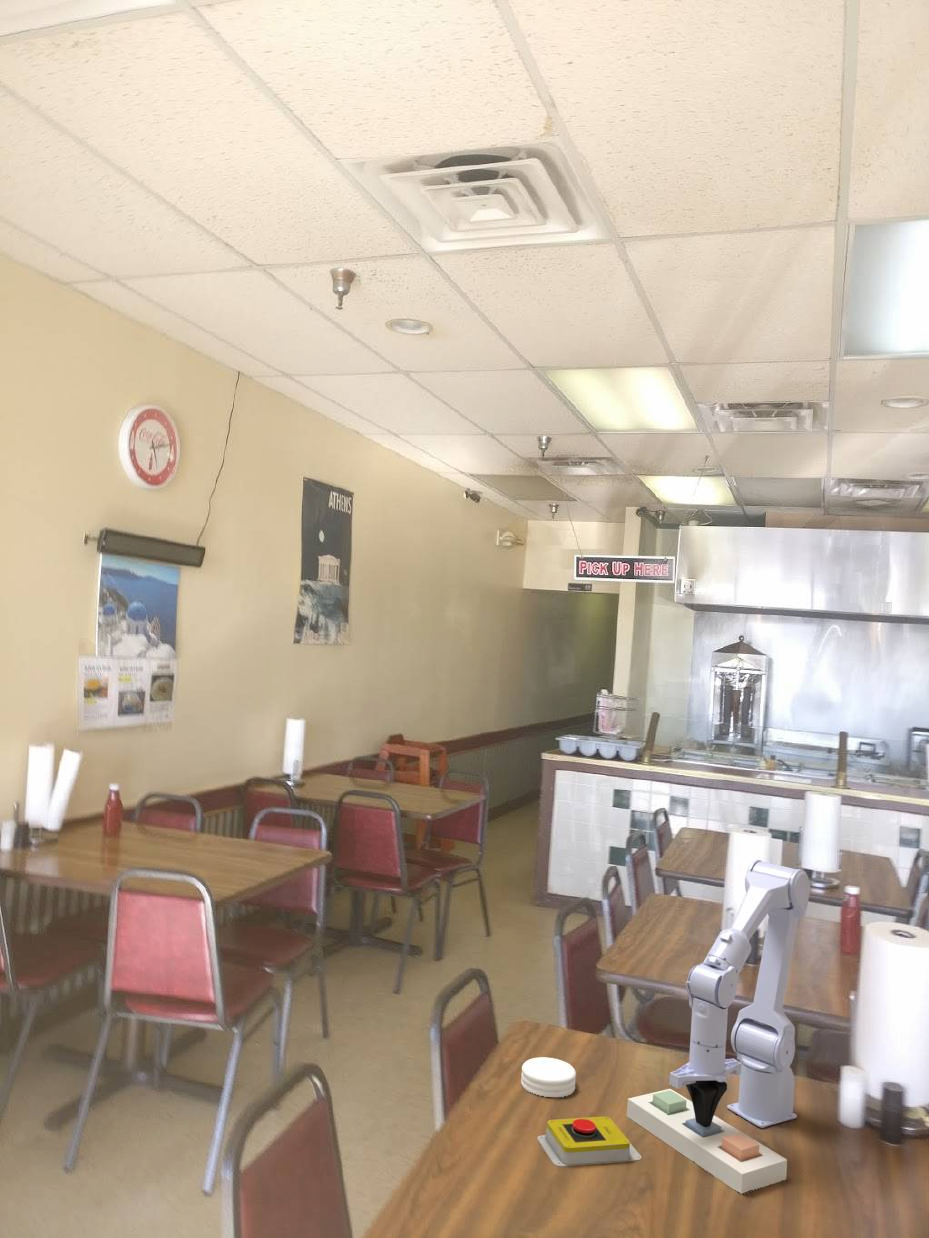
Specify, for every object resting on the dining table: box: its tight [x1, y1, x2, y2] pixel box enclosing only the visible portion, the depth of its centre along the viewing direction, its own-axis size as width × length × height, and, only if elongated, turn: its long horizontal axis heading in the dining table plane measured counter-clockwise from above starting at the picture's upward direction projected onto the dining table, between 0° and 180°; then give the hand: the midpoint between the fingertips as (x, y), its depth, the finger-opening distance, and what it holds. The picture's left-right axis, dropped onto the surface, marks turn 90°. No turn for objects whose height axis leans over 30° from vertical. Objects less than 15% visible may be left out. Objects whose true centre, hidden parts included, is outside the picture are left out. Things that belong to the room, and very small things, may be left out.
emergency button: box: [536, 1116, 642, 1168], centre depth 153 cm, size 9×4×15 cm
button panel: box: [626, 1088, 788, 1195], centre depth 156 cm, size 10×26×3 cm, turn 31°
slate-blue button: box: [685, 1118, 721, 1138], centre depth 156 cm, size 4×4×3 cm
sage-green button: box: [652, 1090, 686, 1115], centre depth 163 cm, size 4×4×3 cm
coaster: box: [520, 1056, 577, 1098], centre depth 174 cm, size 10×10×4 cm
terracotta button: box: [722, 1133, 759, 1162], centre depth 149 cm, size 4×4×3 cm
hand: (703, 1123), depth 156 cm, fingers closed, pressing on slate-blue button
